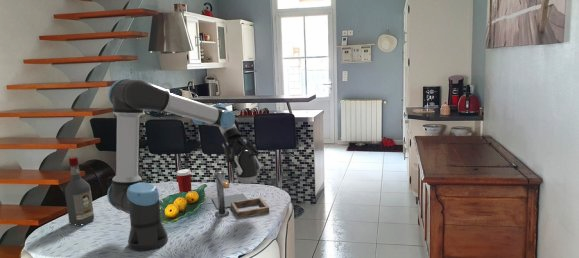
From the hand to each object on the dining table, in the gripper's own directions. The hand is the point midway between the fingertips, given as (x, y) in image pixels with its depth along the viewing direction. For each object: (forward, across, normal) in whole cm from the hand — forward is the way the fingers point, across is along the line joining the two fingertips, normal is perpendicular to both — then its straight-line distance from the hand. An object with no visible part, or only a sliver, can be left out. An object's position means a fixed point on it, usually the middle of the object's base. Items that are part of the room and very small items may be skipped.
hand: (250, 170), depth 209 cm
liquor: (-18, -62, +47) cm, 80 cm away
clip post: (+9, -12, +19) cm, 24 cm away
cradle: (+12, 0, +16) cm, 20 cm away
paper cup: (-16, -13, +44) cm, 48 cm away
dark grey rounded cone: (+2, 0, +7) cm, 7 cm away
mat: (0, 0, +27) cm, 27 cm away
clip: (+1, -15, +1) cm, 15 cm away
